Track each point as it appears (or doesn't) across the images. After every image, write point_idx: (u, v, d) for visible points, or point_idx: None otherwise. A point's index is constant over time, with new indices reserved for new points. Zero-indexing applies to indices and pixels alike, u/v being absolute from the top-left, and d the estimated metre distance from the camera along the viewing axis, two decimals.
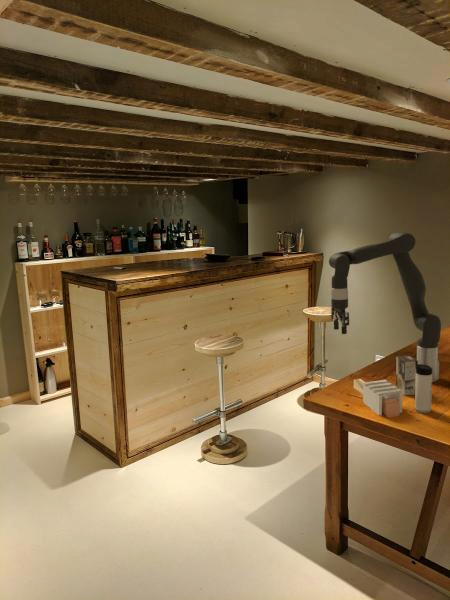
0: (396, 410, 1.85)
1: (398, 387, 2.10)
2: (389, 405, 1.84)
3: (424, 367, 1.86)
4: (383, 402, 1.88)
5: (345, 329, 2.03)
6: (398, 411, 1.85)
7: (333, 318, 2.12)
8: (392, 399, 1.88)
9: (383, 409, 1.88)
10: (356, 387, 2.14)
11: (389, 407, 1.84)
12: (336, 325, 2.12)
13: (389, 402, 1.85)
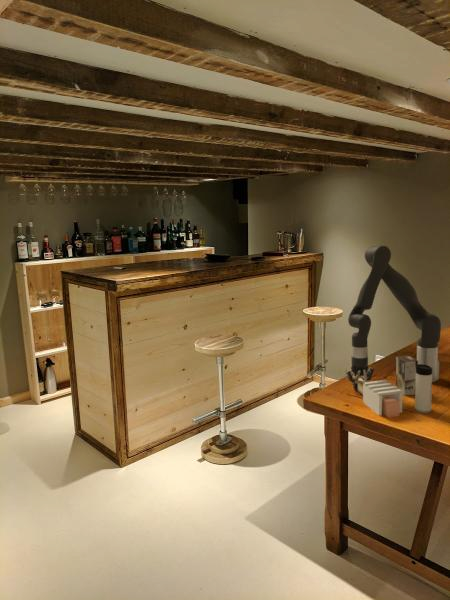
0: (396, 410, 1.85)
1: (398, 387, 2.10)
2: (389, 405, 1.84)
3: (424, 367, 1.86)
4: (383, 402, 1.88)
5: None
6: (398, 411, 1.85)
7: (356, 380, 2.12)
8: (392, 399, 1.88)
9: (383, 409, 1.88)
10: None
11: (389, 407, 1.84)
12: None
13: (389, 402, 1.85)
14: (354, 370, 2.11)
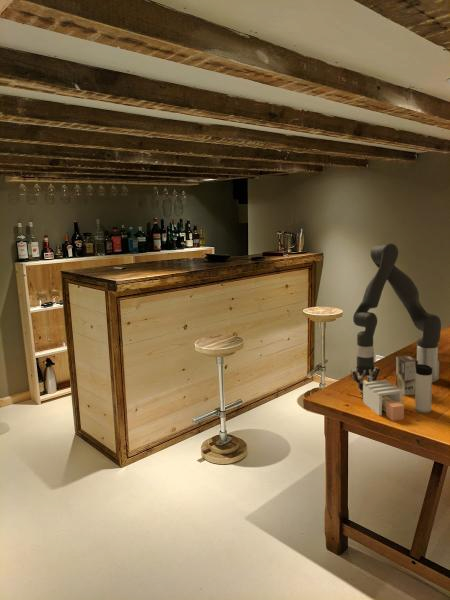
0: (400, 413, 1.82)
1: (398, 387, 2.10)
2: (393, 408, 1.81)
3: (424, 367, 1.86)
4: (387, 405, 1.85)
5: None
6: (402, 414, 1.82)
7: (361, 380, 2.06)
8: (396, 402, 1.84)
9: (387, 412, 1.85)
10: None
11: (393, 410, 1.81)
12: None
13: (393, 405, 1.82)
14: (359, 370, 2.05)
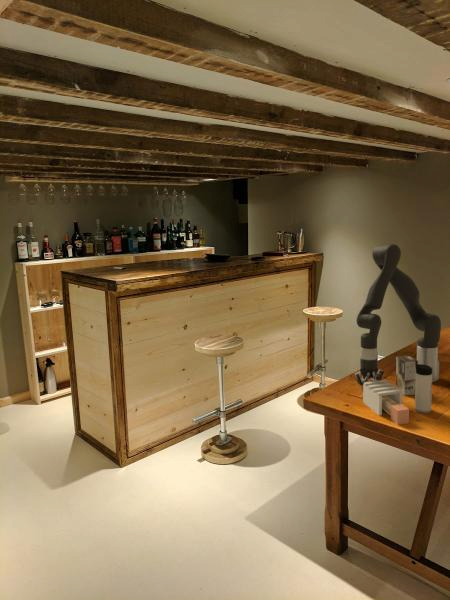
0: (405, 417, 1.79)
1: (398, 387, 2.10)
2: (398, 412, 1.78)
3: (424, 367, 1.86)
4: (392, 409, 1.81)
5: None
6: (407, 418, 1.79)
7: None
8: (401, 406, 1.81)
9: (392, 416, 1.82)
10: None
11: (398, 414, 1.78)
12: None
13: (398, 409, 1.79)
14: (363, 372, 2.02)
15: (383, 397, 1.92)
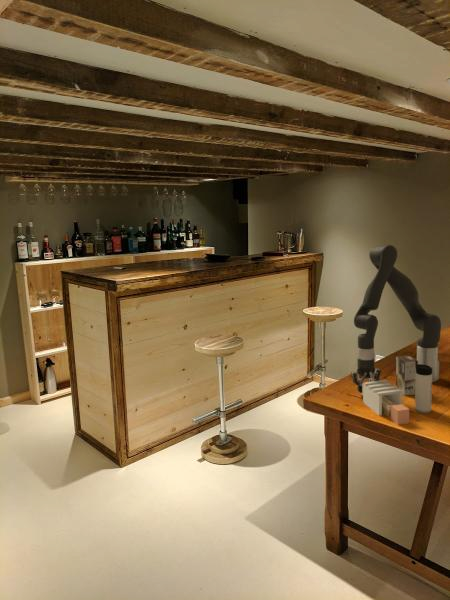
0: (406, 417, 1.79)
1: (398, 387, 2.10)
2: (398, 412, 1.78)
3: (424, 367, 1.86)
4: (392, 409, 1.81)
5: None
6: (408, 418, 1.79)
7: (361, 382, 2.06)
8: (401, 406, 1.81)
9: (392, 416, 1.82)
10: (362, 392, 2.08)
11: (399, 414, 1.78)
12: None
13: (398, 409, 1.79)
14: (360, 372, 2.05)
15: None
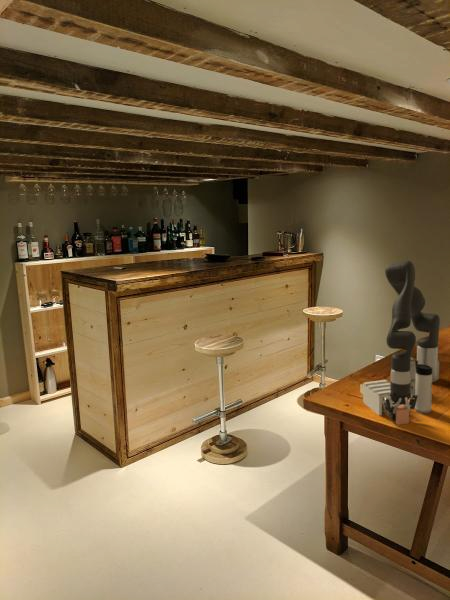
0: (406, 417, 1.79)
1: None
2: (398, 412, 1.78)
3: (424, 367, 1.86)
4: None
5: None
6: (408, 418, 1.79)
7: (394, 409, 1.78)
8: (401, 406, 1.81)
9: None
10: None
11: (399, 414, 1.78)
12: None
13: (398, 409, 1.79)
14: (394, 398, 1.77)
15: None
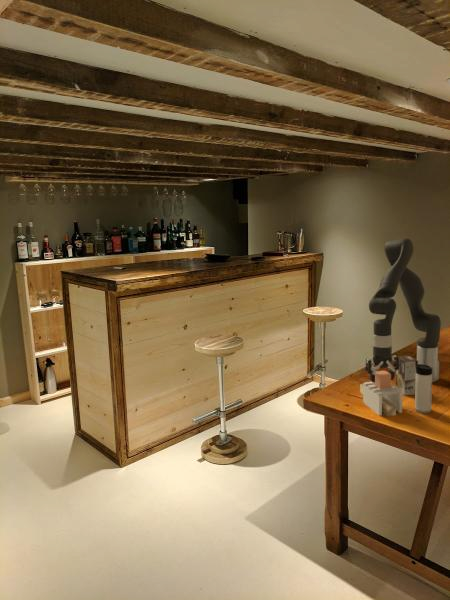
0: (388, 382, 1.90)
1: (398, 387, 2.10)
2: (381, 377, 1.89)
3: (424, 367, 1.86)
4: (375, 374, 1.93)
5: None
6: (389, 383, 1.91)
7: (373, 370, 1.89)
8: (384, 372, 1.93)
9: (375, 381, 1.94)
10: None
11: (381, 379, 1.90)
12: None
13: (381, 374, 1.90)
14: (376, 361, 1.89)
15: None
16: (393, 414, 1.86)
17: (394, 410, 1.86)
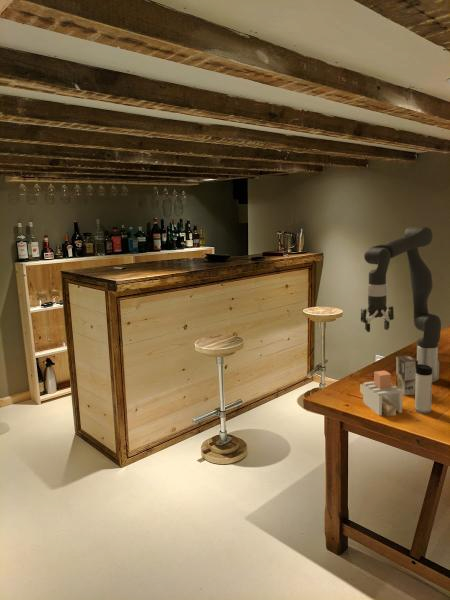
0: (388, 382, 1.90)
1: (398, 387, 2.10)
2: (381, 377, 1.89)
3: (424, 367, 1.86)
4: (375, 374, 1.93)
5: None
6: (389, 383, 1.91)
7: (368, 320, 1.94)
8: (384, 372, 1.93)
9: (375, 381, 1.94)
10: (362, 392, 2.08)
11: (381, 379, 1.90)
12: None
13: (381, 374, 1.90)
14: (371, 310, 1.93)
15: None
16: (393, 414, 1.86)
17: (394, 410, 1.86)
